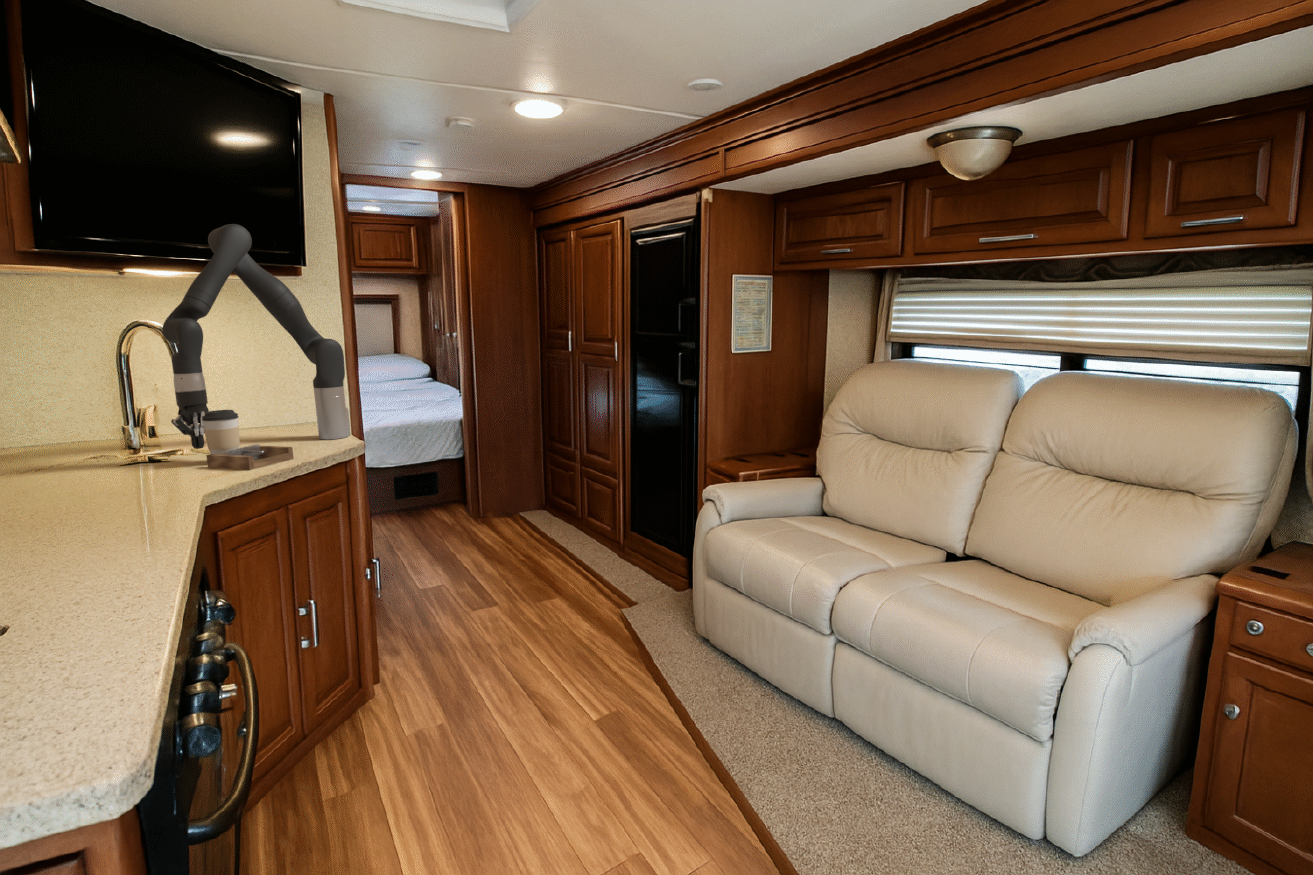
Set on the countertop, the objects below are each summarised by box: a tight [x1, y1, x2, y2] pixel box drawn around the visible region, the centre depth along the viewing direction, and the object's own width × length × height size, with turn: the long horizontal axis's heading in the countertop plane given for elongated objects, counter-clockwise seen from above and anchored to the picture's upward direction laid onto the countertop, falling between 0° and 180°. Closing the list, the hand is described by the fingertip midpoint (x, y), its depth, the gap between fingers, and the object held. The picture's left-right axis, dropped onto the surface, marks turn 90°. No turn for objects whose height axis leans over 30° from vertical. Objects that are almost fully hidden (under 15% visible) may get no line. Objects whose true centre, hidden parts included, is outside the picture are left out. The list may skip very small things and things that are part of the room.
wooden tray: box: [205, 444, 294, 471], centre depth 201 cm, size 15×15×4 cm
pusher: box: [223, 443, 265, 461], centre depth 200 cm, size 8×11×4 cm
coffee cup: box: [202, 409, 241, 455], centre depth 203 cm, size 9×9×15 cm
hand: (198, 448), depth 206 cm, fingers closed
